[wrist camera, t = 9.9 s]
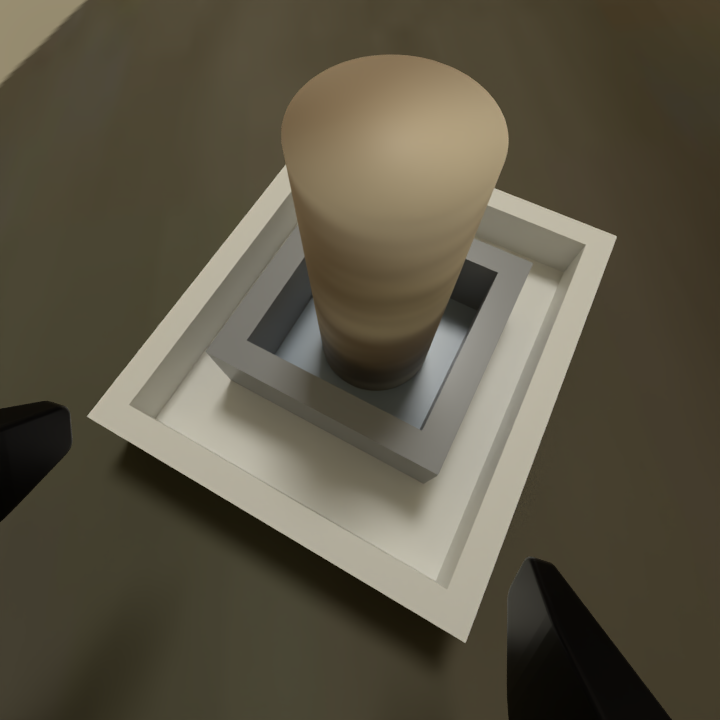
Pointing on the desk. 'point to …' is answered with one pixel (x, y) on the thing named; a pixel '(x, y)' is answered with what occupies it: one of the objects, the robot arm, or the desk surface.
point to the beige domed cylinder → (388, 203)
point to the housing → (368, 401)
